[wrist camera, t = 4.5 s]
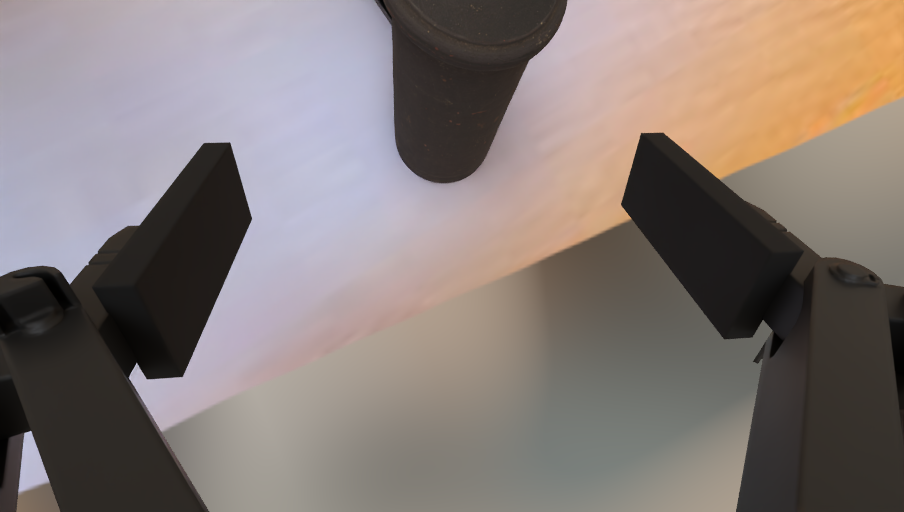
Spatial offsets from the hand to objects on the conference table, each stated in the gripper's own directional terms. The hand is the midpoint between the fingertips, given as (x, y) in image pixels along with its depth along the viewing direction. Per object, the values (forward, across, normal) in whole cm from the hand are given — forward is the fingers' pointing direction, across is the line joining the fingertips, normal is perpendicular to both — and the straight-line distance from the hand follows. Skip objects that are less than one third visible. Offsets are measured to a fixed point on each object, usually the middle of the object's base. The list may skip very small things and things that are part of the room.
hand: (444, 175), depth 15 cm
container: (+24, +2, -9) cm, 25 cm away
